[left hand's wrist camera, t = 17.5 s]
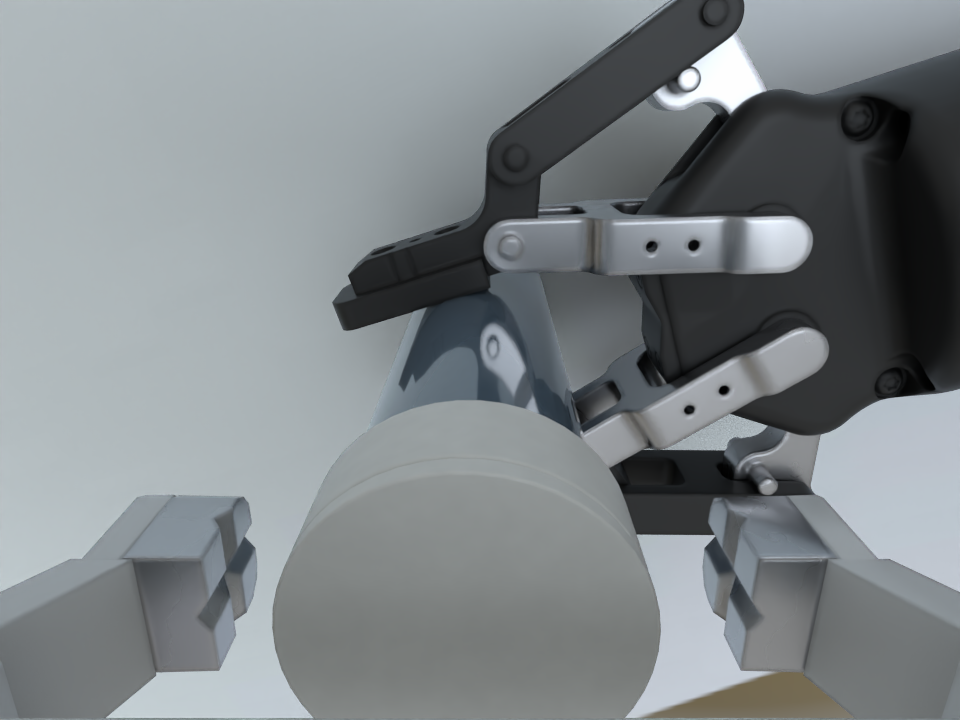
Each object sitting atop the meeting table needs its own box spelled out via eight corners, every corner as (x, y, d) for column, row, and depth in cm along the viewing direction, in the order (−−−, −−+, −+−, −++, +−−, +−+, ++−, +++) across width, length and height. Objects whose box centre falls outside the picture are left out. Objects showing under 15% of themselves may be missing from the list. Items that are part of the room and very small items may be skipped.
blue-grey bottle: (506, 370, 24) (525, 752, 10) (403, 318, 24) (267, 644, 9) (565, 272, 23) (683, 549, 9) (458, 213, 22) (397, 409, 8)
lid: (630, 387, 9) (666, 460, 7) (628, 659, 11) (657, 775, 9) (287, 407, 9) (236, 483, 8) (337, 671, 11) (305, 788, 9)
